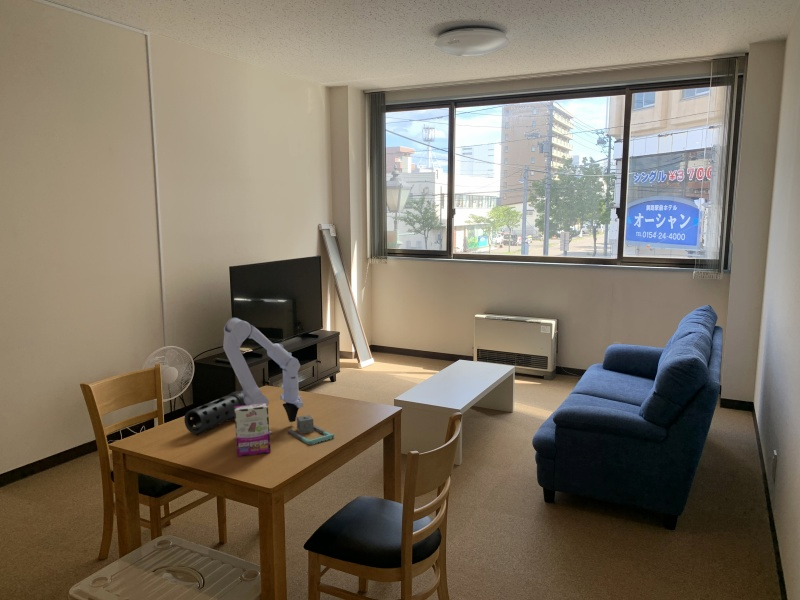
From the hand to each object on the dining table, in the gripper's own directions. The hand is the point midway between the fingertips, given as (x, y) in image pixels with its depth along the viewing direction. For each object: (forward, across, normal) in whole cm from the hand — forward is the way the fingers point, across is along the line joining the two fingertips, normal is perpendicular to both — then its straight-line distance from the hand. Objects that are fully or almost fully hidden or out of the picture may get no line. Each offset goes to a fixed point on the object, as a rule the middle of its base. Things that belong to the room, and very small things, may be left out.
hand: (292, 421), depth 230 cm
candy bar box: (+2, -15, +23) cm, 28 cm away
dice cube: (+2, -8, -1) cm, 9 cm away
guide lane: (+2, -14, 0) cm, 14 cm away
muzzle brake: (+2, +20, +21) cm, 29 cm away
